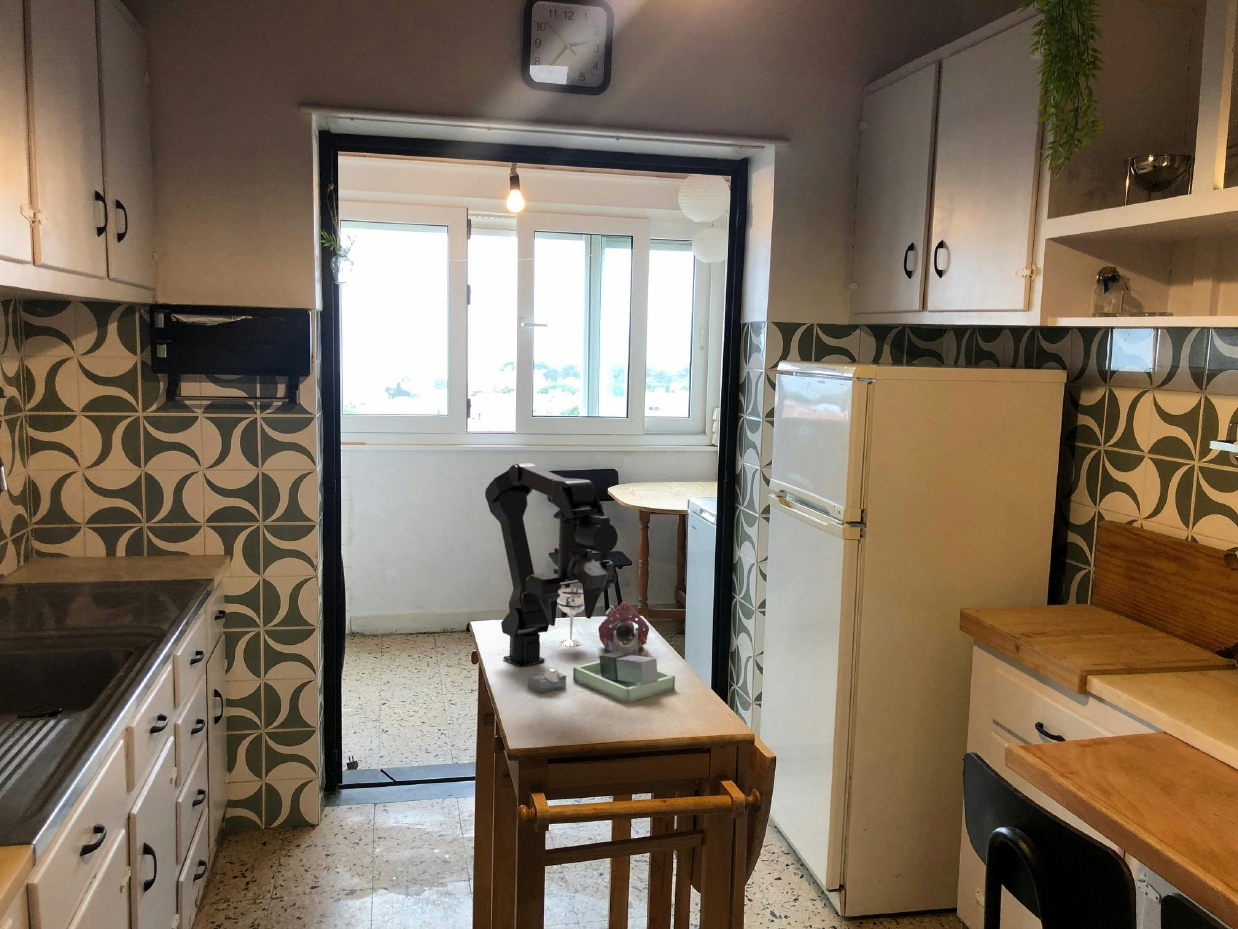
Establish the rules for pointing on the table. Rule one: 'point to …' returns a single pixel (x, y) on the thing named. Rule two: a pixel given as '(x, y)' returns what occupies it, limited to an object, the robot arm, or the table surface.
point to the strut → (628, 667)
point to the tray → (622, 683)
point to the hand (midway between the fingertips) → (570, 621)
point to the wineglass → (571, 608)
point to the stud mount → (546, 681)
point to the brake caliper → (623, 631)
